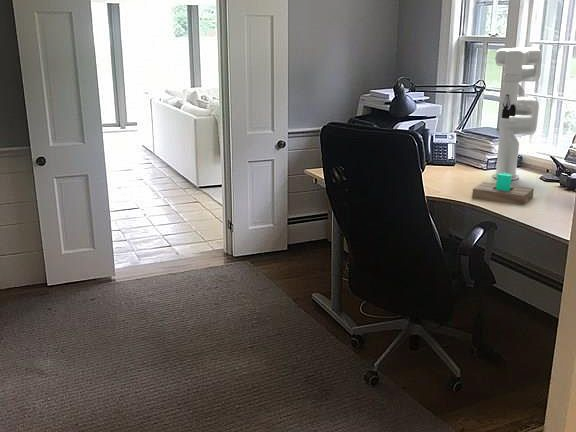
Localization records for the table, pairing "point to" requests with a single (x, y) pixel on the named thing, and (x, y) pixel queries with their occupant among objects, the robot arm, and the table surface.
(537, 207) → the table surface
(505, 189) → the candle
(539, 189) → the table surface
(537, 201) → the table surface
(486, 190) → the wooden socket board
